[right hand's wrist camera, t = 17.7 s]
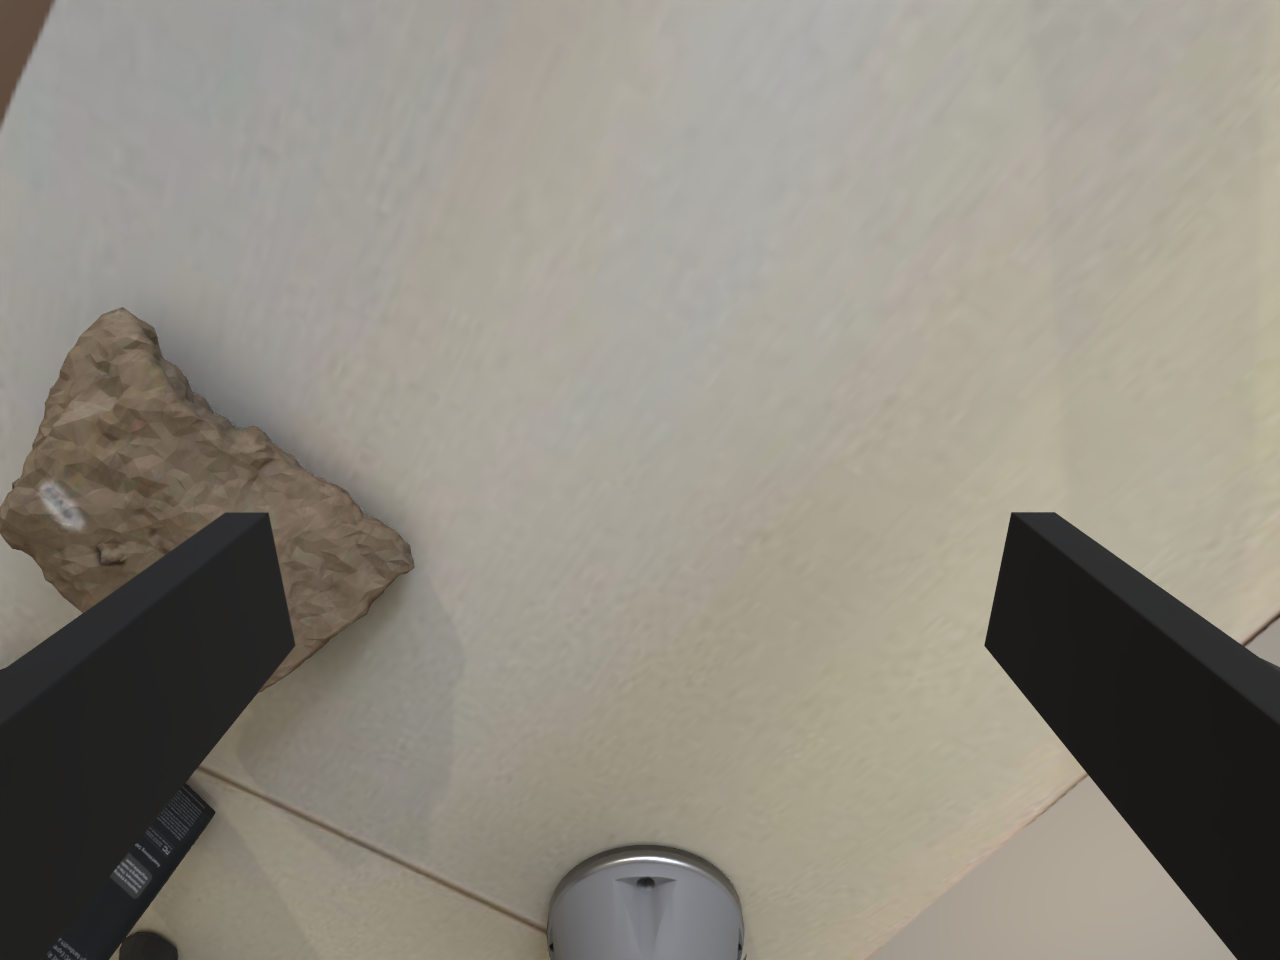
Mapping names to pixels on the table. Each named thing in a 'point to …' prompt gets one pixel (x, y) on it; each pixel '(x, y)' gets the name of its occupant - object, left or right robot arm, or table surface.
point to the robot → (146, 948)
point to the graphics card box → (135, 881)
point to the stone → (180, 490)
